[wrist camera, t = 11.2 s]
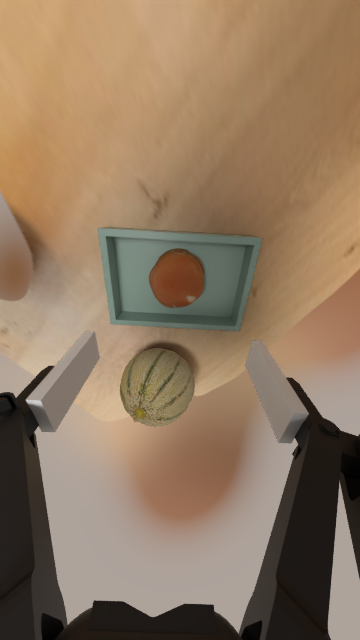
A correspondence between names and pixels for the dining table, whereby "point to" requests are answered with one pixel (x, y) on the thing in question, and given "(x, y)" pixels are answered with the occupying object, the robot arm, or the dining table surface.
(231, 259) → the teal tray
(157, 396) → the cantaloupe
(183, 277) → the burger
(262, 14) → the dining table surface
